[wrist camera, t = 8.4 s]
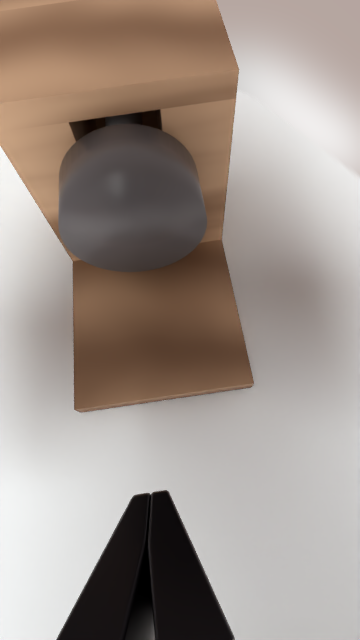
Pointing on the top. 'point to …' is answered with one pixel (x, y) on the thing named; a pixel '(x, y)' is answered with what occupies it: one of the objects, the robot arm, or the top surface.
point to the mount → (158, 112)
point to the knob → (130, 197)
